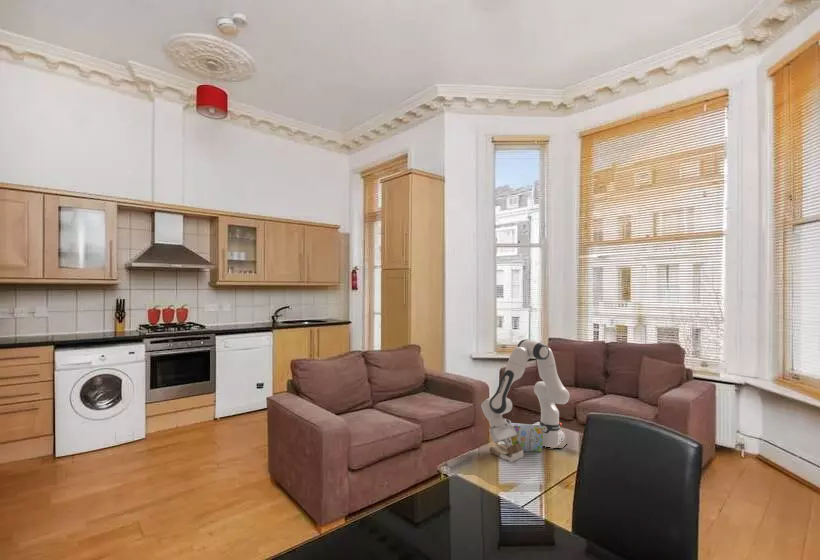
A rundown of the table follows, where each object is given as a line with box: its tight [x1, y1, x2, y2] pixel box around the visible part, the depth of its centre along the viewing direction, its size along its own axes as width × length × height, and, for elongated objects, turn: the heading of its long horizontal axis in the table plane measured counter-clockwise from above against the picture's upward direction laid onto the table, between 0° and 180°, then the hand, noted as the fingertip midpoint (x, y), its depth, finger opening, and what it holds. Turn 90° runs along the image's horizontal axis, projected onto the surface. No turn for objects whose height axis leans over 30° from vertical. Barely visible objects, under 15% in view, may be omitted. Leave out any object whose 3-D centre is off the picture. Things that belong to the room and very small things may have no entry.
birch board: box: [489, 442, 509, 458], centre depth 246 cm, size 12×11×3 cm
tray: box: [499, 450, 524, 463], centre depth 241 cm, size 12×8×4 cm, turn 132°
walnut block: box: [507, 443, 523, 455], centre depth 240 cm, size 4×4×7 cm
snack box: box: [510, 422, 543, 453], centre depth 254 cm, size 21×6×15 cm, turn 86°
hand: (510, 446), depth 242 cm, fingers closed, pressing on walnut block
